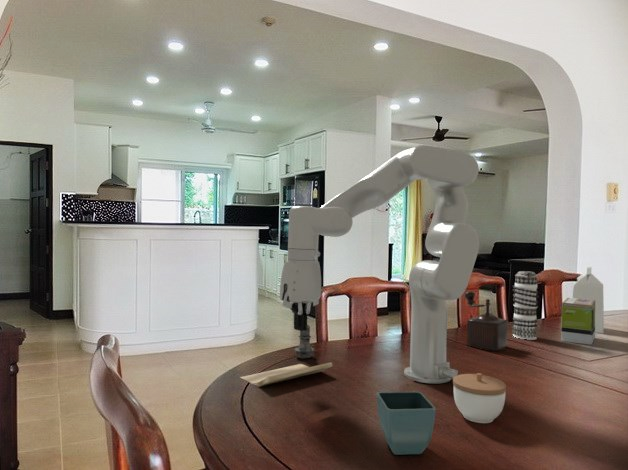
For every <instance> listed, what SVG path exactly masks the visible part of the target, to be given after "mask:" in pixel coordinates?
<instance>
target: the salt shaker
mask: <svg viewBox="0 0 628 470" xmlns="http://www.w3.org/2000/svg"><path fill="white" fill-rule="evenodd" d="M310 334H311V326H310V325H309V324H307V330H305V331H304V330H303V331H299V336H298V338H299V344H298V346H297V347H296V348H294V351H295V355H296V356H297V358H300V359H302V360H303V359H306V360H307V359H309V358H311V357H312V356H313V354H314V352H315V348H313V347H312V346H311V341H310V340H311V337H312V336H311V335H310Z"/></svg>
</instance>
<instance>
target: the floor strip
mask: <svg viewBox="0 0 628 470" xmlns="http://www.w3.org/2000/svg"><path fill="white" fill-rule="evenodd" d="M308 367H309V366H308V365H305V364H302V363H298V364H293V365H290V366H289V365H287V366H285V367H281V368H275V369H272V370H271V369H270V370H267V371H261V372H258V373H253V374H250V375H249V374H248V375H244V376H240V377H239V378H240V379H242V380H244V381H245V382H248V383H249V384H252V385H254V384H256V383H258V382H260V381H262V380H264V379H266V378H268V377H270V376H274V375H278V374H283V373H287V372H291V371H295V370H300V369H304V368H308Z"/></svg>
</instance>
